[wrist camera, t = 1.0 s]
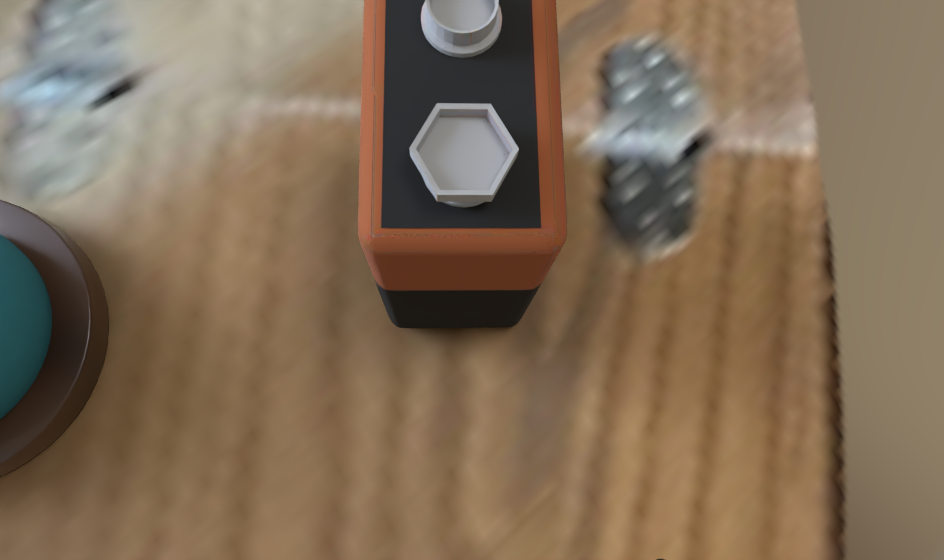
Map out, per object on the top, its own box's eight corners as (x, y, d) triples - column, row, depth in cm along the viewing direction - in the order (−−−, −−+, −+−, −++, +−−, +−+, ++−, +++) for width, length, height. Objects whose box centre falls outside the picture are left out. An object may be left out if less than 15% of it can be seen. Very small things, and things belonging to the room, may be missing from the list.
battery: (388, 331, 22) (347, 236, 13) (391, 139, 24) (357, -73, 14) (521, 330, 23) (581, 236, 13) (515, 139, 24) (564, -69, 15)
